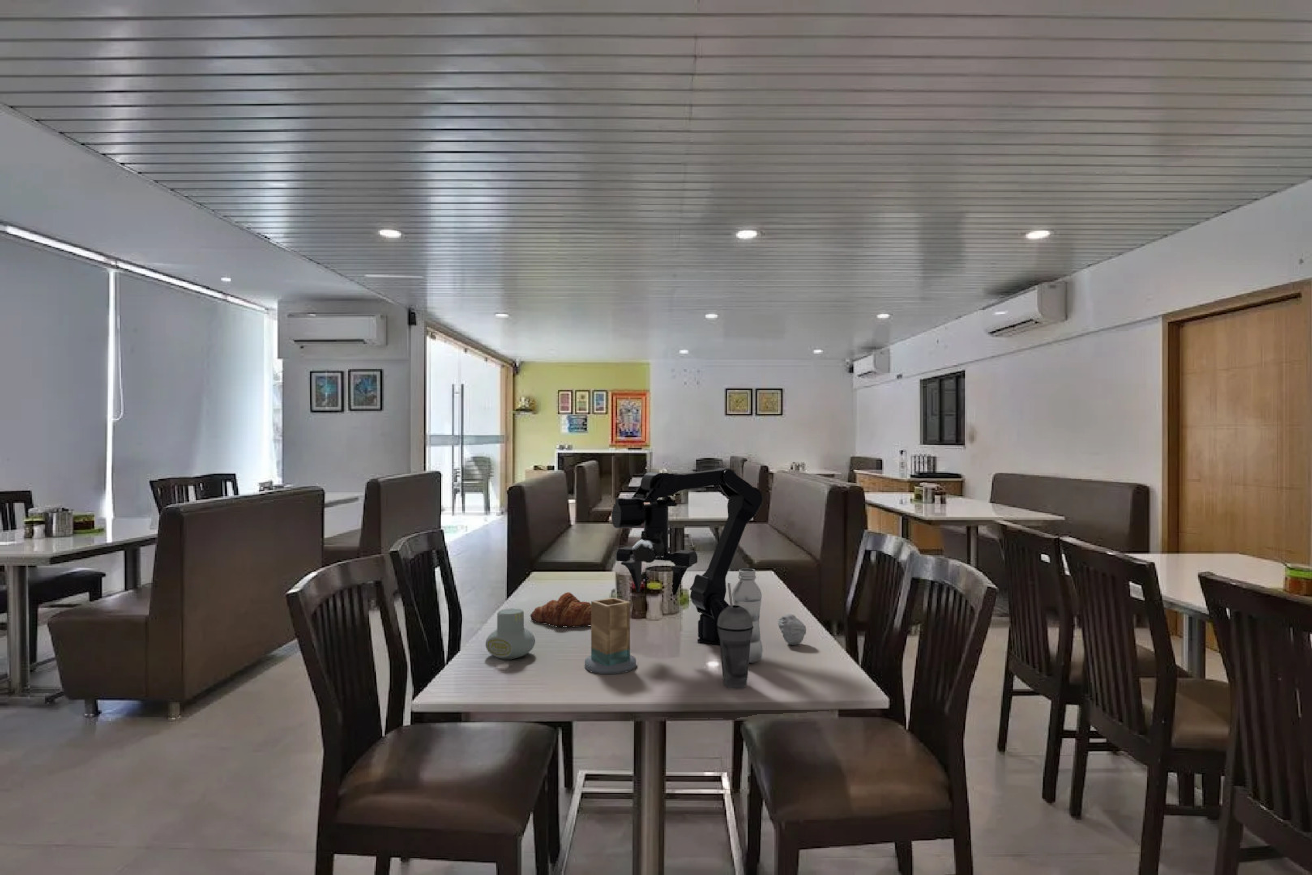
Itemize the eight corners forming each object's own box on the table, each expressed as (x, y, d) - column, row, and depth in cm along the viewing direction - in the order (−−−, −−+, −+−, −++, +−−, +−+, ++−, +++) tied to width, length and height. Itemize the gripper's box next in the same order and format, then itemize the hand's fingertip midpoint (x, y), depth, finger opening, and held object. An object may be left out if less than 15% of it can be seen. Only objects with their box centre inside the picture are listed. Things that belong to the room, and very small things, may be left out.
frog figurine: (787, 638, 165) (787, 610, 165) (812, 644, 160) (812, 615, 160) (772, 643, 160) (772, 614, 160) (797, 650, 155) (797, 619, 155)
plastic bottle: (744, 668, 143) (743, 573, 143) (726, 659, 149) (726, 568, 149) (768, 663, 146) (768, 571, 146) (750, 655, 152) (750, 566, 152)
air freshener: (541, 653, 153) (541, 609, 153) (519, 664, 145) (519, 617, 146) (502, 647, 157) (502, 605, 158) (479, 657, 150) (479, 612, 150)
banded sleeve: (614, 654, 148) (614, 597, 149) (629, 660, 144) (629, 602, 144) (591, 659, 145) (591, 601, 145) (606, 666, 140) (606, 606, 140)
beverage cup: (752, 692, 128) (752, 587, 129) (714, 689, 130) (714, 586, 130) (754, 679, 135) (754, 580, 136) (718, 677, 137) (718, 579, 137)
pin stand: (644, 661, 147) (644, 637, 147) (621, 677, 137) (621, 651, 137) (600, 655, 151) (600, 632, 152) (575, 669, 141) (575, 645, 142)
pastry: (586, 613, 191) (586, 585, 191) (608, 625, 178) (608, 595, 178) (529, 620, 183) (529, 591, 183) (547, 634, 170) (547, 602, 170)
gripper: (604, 527, 153) (604, 596, 153) (679, 532, 145) (679, 604, 145) (626, 522, 163) (626, 587, 163) (698, 526, 156) (698, 594, 155)
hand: (656, 593), depth 156 cm, fingers open, 9 cm apart
